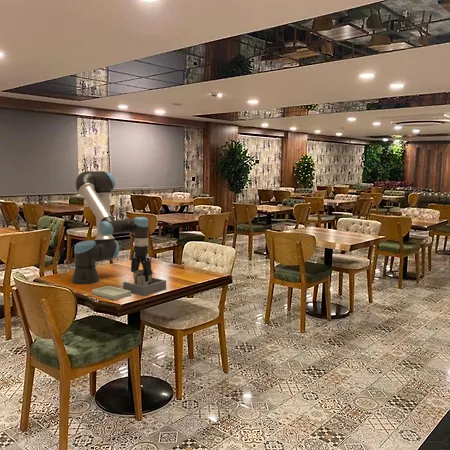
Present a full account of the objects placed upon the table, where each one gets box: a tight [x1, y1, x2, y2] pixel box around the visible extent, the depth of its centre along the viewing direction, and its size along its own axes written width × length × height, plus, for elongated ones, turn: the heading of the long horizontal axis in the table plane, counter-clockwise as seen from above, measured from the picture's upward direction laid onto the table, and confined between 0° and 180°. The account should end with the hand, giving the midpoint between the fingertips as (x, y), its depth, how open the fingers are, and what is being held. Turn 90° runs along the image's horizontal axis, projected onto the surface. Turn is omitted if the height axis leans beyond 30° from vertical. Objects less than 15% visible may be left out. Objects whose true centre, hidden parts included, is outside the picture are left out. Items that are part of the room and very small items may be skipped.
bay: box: [122, 277, 167, 297], centre depth 242 cm, size 16×17×5 cm
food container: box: [132, 269, 154, 286], centre depth 244 cm, size 12×6×10 cm, turn 141°
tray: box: [91, 285, 132, 301], centre depth 231 cm, size 17×11×2 cm, turn 56°
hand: (141, 285), depth 244 cm, fingers closed on food container, 6 cm apart
